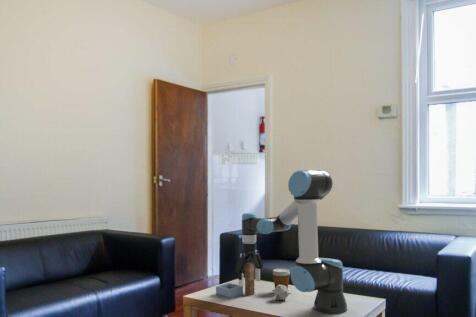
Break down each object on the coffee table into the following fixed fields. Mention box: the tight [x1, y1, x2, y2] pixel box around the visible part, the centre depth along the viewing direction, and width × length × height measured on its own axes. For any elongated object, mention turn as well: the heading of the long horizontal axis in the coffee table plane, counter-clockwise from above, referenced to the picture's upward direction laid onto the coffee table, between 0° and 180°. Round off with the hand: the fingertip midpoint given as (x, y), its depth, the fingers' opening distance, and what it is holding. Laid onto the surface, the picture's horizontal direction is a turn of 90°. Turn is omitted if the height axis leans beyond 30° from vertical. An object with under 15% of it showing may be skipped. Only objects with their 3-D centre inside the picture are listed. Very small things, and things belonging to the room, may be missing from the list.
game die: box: [271, 283, 292, 302], centre depth 224 cm, size 9×8×10 cm
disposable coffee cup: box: [272, 268, 291, 290], centre depth 238 cm, size 10×10×12 cm
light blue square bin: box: [215, 282, 244, 299], centre depth 235 cm, size 10×10×4 cm
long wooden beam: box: [244, 262, 255, 297], centre depth 235 cm, size 4×4×16 cm
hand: (249, 283), depth 235 cm, fingers open, 13 cm apart
